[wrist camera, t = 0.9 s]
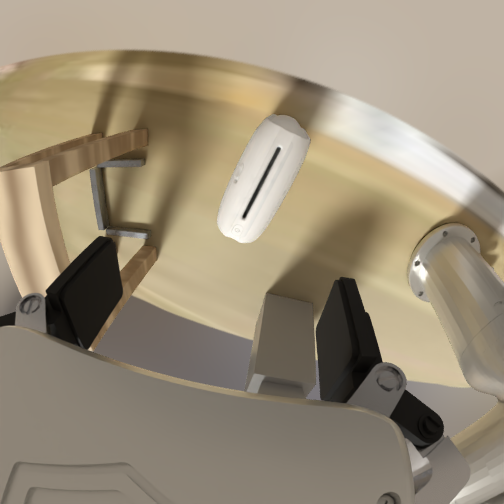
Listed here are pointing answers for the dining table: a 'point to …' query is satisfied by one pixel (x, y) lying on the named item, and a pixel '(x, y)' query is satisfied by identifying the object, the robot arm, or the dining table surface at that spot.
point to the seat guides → (101, 202)
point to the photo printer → (262, 178)
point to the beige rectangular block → (283, 349)
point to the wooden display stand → (46, 218)
